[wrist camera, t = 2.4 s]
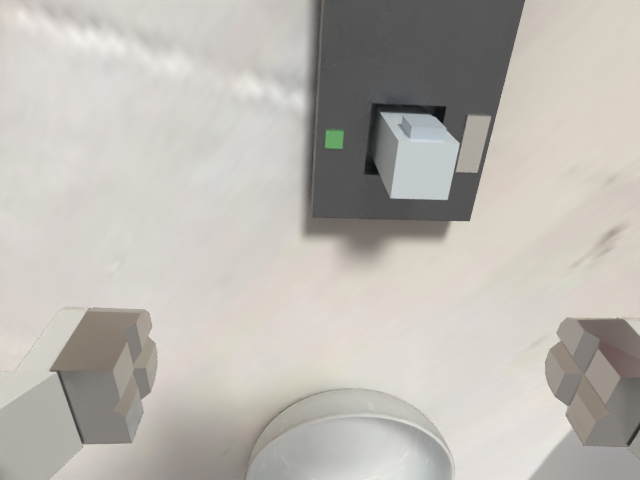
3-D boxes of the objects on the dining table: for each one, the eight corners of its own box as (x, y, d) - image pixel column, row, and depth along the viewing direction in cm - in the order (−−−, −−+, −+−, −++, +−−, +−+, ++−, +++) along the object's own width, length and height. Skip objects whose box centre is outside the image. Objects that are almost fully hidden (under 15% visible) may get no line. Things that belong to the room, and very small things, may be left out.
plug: (416, 154, 34) (447, 199, 27) (370, 152, 34) (390, 198, 27) (425, 97, 32) (462, 131, 25) (376, 95, 32) (400, 128, 25)
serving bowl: (455, 361, 47) (479, 418, 41) (417, 483, 57) (431, 542, 51) (249, 357, 45) (243, 416, 39) (249, 484, 55) (244, 546, 49)
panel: (457, 204, 37) (470, 222, 34) (310, 199, 36) (312, 218, 34) (558, -238, 24) (593, -266, 21) (334, -263, 23) (339, -294, 20)
